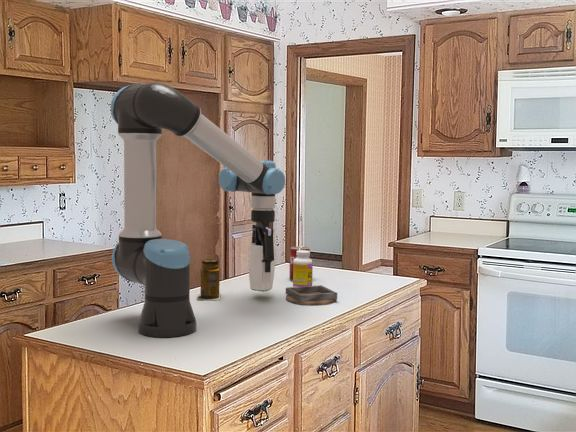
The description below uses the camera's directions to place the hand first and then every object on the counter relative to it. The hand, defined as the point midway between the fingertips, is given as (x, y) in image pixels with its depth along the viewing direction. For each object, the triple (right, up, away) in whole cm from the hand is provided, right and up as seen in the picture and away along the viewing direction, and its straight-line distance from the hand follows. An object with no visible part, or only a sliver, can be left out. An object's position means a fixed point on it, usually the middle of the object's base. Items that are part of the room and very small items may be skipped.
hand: (261, 279), depth 217 cm
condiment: (-17, -6, +1) cm, 18 cm away
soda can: (+13, -3, +30) cm, 33 cm away
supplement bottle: (+14, -5, +17) cm, 22 cm away
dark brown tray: (+16, -6, -1) cm, 17 cm away
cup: (0, -4, 0) cm, 4 cm away
